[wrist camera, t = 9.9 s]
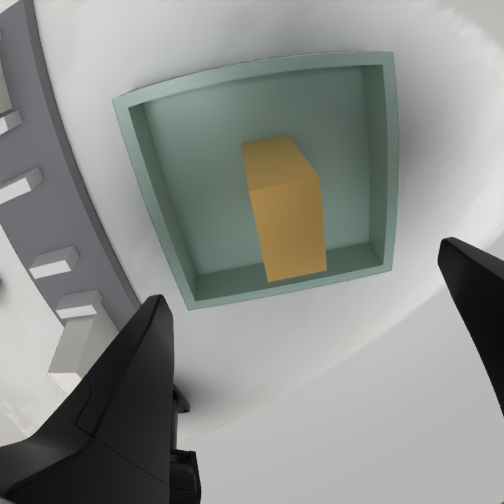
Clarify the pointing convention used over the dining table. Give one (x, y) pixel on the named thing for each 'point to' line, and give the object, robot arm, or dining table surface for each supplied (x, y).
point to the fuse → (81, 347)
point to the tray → (234, 175)
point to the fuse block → (50, 189)
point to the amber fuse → (285, 207)
